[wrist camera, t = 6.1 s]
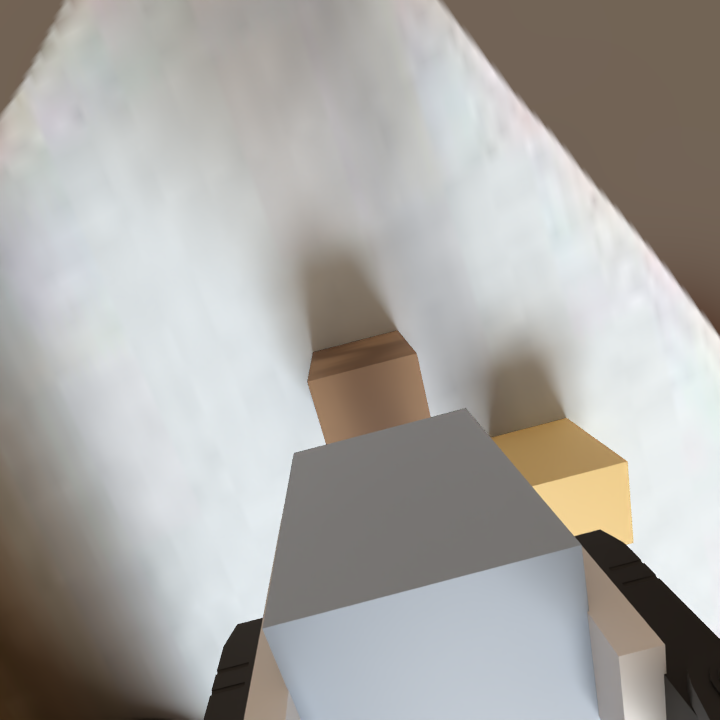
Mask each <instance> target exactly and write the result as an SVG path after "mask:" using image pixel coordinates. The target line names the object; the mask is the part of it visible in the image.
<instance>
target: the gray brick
mask: <svg viewBox="0 0 720 720" xmlns="http://www.w3.org/2000/svg"><path fill="white" fill-rule="evenodd" d="M588 611H589V605H588V596H587V588H586V579H585V570H584V562H583V553H582V545H581V544H580V542H579V541H578V540H577V539H576V538H575V537H574V535H573V534H572V533H571V532H570V531H569V530H568V528H567V527H566V526H565V525H564V524H563V522H562V521H561V520H560V519H559V518H558V517H557V515H556V514H555V513H554V512H553V511H552V509H551V508H550V507H549V506H548V505H547V504H546V502H545V501H544V500H543V499H542V498H541V496H540V495H539V494H538V493H537V492H536V491H535V489H534V488H533V487H532V486H531V485H530V484H529V482H528V481H527V480H526V479H525V478H524V476H523V475H522V474H521V473H520V472H519V471H518V469H517V468H516V467H515V466H514V465H513V463H512V462H511V461H510V460H509V459H508V458H507V456H506V455H505V454H504V453H503V452H502V450H501V449H500V448H499V447H498V446H497V445H496V443H495V442H494V441H493V440H492V439H491V437H490V436H489V435H488V434H487V433H486V432H485V430H484V429H483V428H482V427H481V426H480V425H479V423H478V422H477V421H476V420H475V419H474V417H473V416H472V415H471V414H470V413H469V412H468V410H467V409H466V408H464V409H460V410H456V411H453V412H449V413H445V414H441V415H437V416H434V417H430V418H426V419H422V420H418V421H414V422H411V423H407V424H403V425H399V426H395V427H392V428H388V429H384V430H380V431H376V432H372V433H369V434H365V435H361V436H357V437H353V438H350V439H346V440H342V441H338V442H334V443H330V444H327V445H323V446H319V447H315V448H311V449H308V450H304V451H300V452H296V453H294V455H293V460H292V466H291V472H290V477H289V483H288V488H287V494H286V499H285V505H284V511H283V516H282V522H281V527H280V533H279V538H278V544H277V550H276V555H275V561H274V566H273V572H272V577H271V583H270V589H269V594H268V600H267V605H266V611H265V616H264V622H263V628H262V629H263V632H264V634H265V637H266V639H267V641H268V644H269V646H270V649H271V651H272V653H273V656H274V658H275V661H276V663H277V665H278V668H279V670H280V673H281V675H282V677H283V680H284V682H285V685H286V687H287V690H289V692H290V695H291V697H292V700H293V702H294V705H295V707H296V709H297V712H298V714H299V717H300V719H301V720H601V719H600V717H599V709H598V700H597V692H596V683H595V675H594V666H593V657H592V649H591V640H590V632H589V623H588V614H587V612H588Z"/></svg>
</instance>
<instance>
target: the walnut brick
mask: <svg viewBox="0 0 720 720" xmlns="http://www.w3.org/2000/svg"><path fill="white" fill-rule="evenodd" d="M307 382H308V386H309V389H310V392H311V395H312V399H313V402H314V405H315V409H316V412H317V415H318V419H319V422H320V425H321V429H322V432H323V435H324V439H325V442H326V445H327V444H330V443H334V442H338V441H342V440H346V439H350V438H353V437H357V436H361V435H365V434H369V433H372V432H376V431H380V430H384V429H388V428H392V427H395V426H399V425H403V424H407V423H411V422H414V421H418V420H422V419H426V418H430V412H429V408H428V403H427V399H426V394H425V390H424V385H423V380H422V376H421V371H420V367H419V362H418V357H417V353H416V352H415V351H414V350H413V348H412V347H411V346H410V345H409V344H408V342H407V341H406V340H405V339H404V338H403V336H402V335H401V334H400V333H399V331H398V330H397V331H393V332H389V333H385V334H382V335H378V336H374V337H370V338H366V339H362V340H358V341H355V342H351V343H347V344H343V345H339V346H335V347H331V348H328V349H324V350H320V351H316V352H313V355H312V360H311V365H310V370H309V376H308V381H307Z"/></svg>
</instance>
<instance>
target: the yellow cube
mask: <svg viewBox="0 0 720 720" xmlns="http://www.w3.org/2000/svg"><path fill="white" fill-rule="evenodd" d="M491 439H492V440H493V441H494V442H495V443H496V445H497V446H498V447H499V448H500V449H501V450H502V452H503V453H504V454H505V455H506V456H507V457H508V459H509V460H510V461H511V462H512V463H513V465H514V466H515V467H516V468H517V469H518V471H519V472H520V473H521V474H522V475H523V476H524V478H525V479H526V480H527V481H528V482H529V484H530V485H531V486H532V487H533V488H534V489H535V491H536V492H537V493H538V494H539V495H540V496H541V498H542V499H543V500H544V501H545V502H546V504H547V505H548V506H549V507H550V508H551V509H552V511H553V512H554V513H555V514H556V515H557V517H558V518H559V519H560V520H561V521H562V522H563V524H564V525H565V526H566V527H567V528H568V530H569V531H570V532H571V533H572V534H573V535H574V536H576V535H580V534H584V533H588V532H592V531H596V530H600V529H601V530H602V531H604V532H606V533H608V534H610V535H611V536H613V537H615V538H617V539H619V540H620V541H622V542H624V543H625V544H626V545H627V544H631V543H633V530H632V517H631V503H630V489H629V476H628V462H627V461H626V460H625V459H623V458H622V457H620V456H619V455H618V454H616V453H615V452H613V451H612V450H611V449H609V448H608V447H606V446H605V445H604V444H602V443H601V442H599V441H598V440H597V439H595V438H594V437H592V436H591V435H590V434H588V433H587V432H585V431H584V430H583V429H581V428H580V427H578V426H577V425H576V424H574V423H573V422H571V421H570V420H569V419H567V418H564V419H561V420H557V421H553V422H549V423H545V424H541V425H538V426H534V427H530V428H526V429H522V430H518V431H515V432H511V433H507V434H503V435H499V436H495V437H492V438H491Z"/></svg>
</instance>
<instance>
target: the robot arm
mask: <svg viewBox="0 0 720 720" xmlns="http://www.w3.org/2000/svg"><path fill="white" fill-rule="evenodd" d="M507 458H508V457H507ZM284 505H285V504H284ZM283 511H284V509H283ZM282 516H283V514H282ZM281 522H282V519H281ZM280 527H281V525H280ZM279 533H280V530H279ZM574 537H575V538H576V539H577V540H578V541H579V542H580V544H581V545H582V553H583V562H584V570H585V579H586V588H587V596H588V605H589V611H588V612H587V614H588V623H589V632H590V640H591V649H592V657H593V666H594V675H595V683H596V692H597V700H598V709H599V717H600V719H601V720H720V639H719V638H718V637H717V636H716V635H715V634H714V633H713V632H712V631H711V630H710V629H709V628H708V627H707V626H706V625H705V624H704V623H703V622H702V621H701V620H700V619H699V618H698V617H697V616H696V615H695V614H694V613H693V612H692V611H691V610H690V609H689V608H688V607H687V606H686V605H685V604H684V603H683V602H682V601H681V600H680V599H679V598H678V597H677V596H676V595H675V594H674V593H673V592H672V591H671V590H670V589H669V588H668V587H667V586H666V585H665V584H664V583H663V582H662V581H661V580H660V579H658V578H657V577H656V574H655V573H654V572H653V571H652V570H651V569H650V568H649V567H648V566H647V565H646V564H645V563H642V562H641V559H640V558H639V557H638V556H637V555H636V554H635V553H634V552H633V551H632V550H631V549H630V548H629V547H628V546H627V545H626V544H625V543H624V542H622V541H620V540H619V539H617V538H615V537H613V536H611V535H610V534H608V533H606V532H604V531H602V530H601V529H600V530H596V531H592V532H588V533H584V534H580V535H576V536H574ZM278 538H279V535H278ZM277 544H278V541H277ZM276 550H277V546H276ZM275 555H276V551H275ZM274 561H275V557H274ZM273 566H274V562H273ZM272 572H273V567H272ZM271 577H272V573H271ZM270 583H271V578H270ZM270 583H269V588H268V594H269V589H270ZM268 594H267V599H266V604H265V610H264V615H263V618H260V619H256V620H253V621H249V622H245V623H241V624H237V626H236V627H235V629H234V631H233V632H232V634H231V635H230V637H229V639H228V640H227V642H226V644H225V645H224V647H223V651H222V654H221V658H220V662H219V665H218V669H217V675H216V676H215V680H214V684H213V687H212V695H211V696H210V698H209V702H208V706H207V709H206V713H205V716H204V720H301V719H300V717H299V714H298V712H297V709H296V707H295V705H294V702H293V700H292V697H291V695H290V692H289V690H287V687H286V685H285V682H284V680H283V677H282V675H281V673H280V670H279V668H278V665H277V663H276V661H275V658H274V656H273V653H272V651H271V649H270V646H269V644H268V641H267V639H266V637H265V634H264V632H263V629H262V628H263V622H264V616H265V611H266V605H267V600H268Z"/></svg>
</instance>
